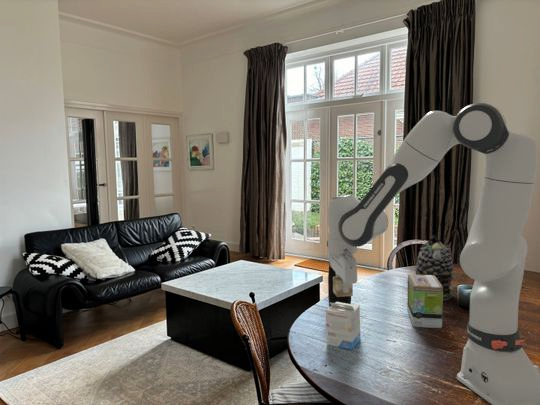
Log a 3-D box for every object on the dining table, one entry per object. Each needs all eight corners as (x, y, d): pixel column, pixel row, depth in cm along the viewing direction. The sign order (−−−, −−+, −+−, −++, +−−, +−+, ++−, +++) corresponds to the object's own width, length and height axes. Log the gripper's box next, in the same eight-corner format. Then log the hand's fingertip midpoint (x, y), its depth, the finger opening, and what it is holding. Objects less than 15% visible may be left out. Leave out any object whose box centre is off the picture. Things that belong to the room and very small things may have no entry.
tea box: (443, 329, 138) (443, 286, 136) (412, 327, 140) (412, 286, 139) (434, 312, 153) (435, 273, 151) (406, 311, 155) (406, 273, 153)
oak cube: (352, 295, 127) (352, 280, 126) (337, 296, 126) (336, 281, 126) (348, 290, 132) (348, 275, 131) (333, 291, 131) (332, 276, 131)
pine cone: (460, 303, 160) (461, 241, 157) (420, 302, 163) (420, 241, 160) (446, 286, 180) (447, 231, 178) (411, 286, 183) (411, 231, 180)
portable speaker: (350, 308, 159) (350, 259, 157) (352, 318, 150) (351, 266, 148) (328, 308, 160) (327, 259, 158) (328, 317, 151) (327, 266, 149)
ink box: (361, 339, 132) (360, 300, 131) (351, 350, 125) (351, 308, 124) (336, 334, 137) (335, 296, 135) (326, 344, 130) (325, 304, 128)
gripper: (362, 253, 117) (362, 299, 119) (343, 239, 138) (344, 278, 139) (341, 254, 117) (341, 300, 118) (325, 240, 137) (326, 279, 139)
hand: (342, 288), depth 129 cm, fingers closed on oak cube, 5 cm apart
